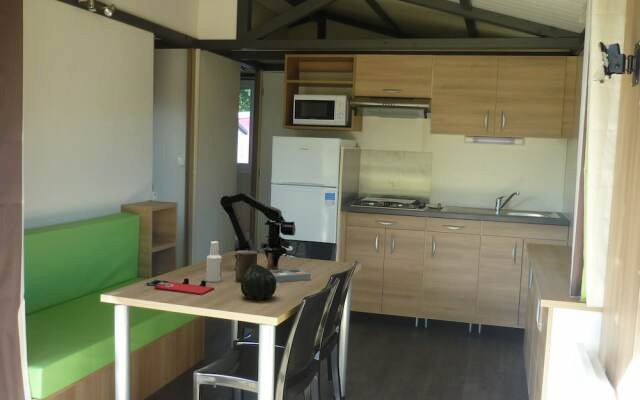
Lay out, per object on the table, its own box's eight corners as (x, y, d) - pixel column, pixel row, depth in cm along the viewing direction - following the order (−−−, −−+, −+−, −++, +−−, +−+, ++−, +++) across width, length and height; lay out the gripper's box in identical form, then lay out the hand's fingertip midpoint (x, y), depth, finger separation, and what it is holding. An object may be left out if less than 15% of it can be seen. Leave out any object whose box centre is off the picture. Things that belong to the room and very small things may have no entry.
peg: (270, 274, 292) (271, 254, 291) (267, 272, 296) (267, 252, 295) (277, 273, 294) (278, 253, 293) (274, 272, 298) (275, 252, 297)
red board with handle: (157, 280, 267) (138, 288, 253) (158, 274, 267) (139, 281, 253) (218, 289, 259) (202, 297, 245) (218, 282, 259) (202, 290, 245)
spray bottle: (223, 280, 274) (225, 241, 273) (215, 282, 268) (216, 243, 267) (211, 278, 277) (212, 240, 276) (203, 280, 271) (204, 241, 269)
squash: (288, 287, 243) (272, 256, 249) (261, 293, 232) (244, 261, 238) (270, 304, 251) (254, 274, 257) (243, 311, 240) (228, 280, 246)
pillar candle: (252, 284, 269) (254, 251, 268) (232, 281, 271) (233, 249, 270) (258, 279, 279) (260, 248, 278) (239, 277, 281) (240, 246, 280)
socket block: (276, 282, 274) (276, 275, 274) (264, 276, 286) (265, 269, 285) (310, 280, 283) (310, 273, 283) (297, 274, 295) (298, 267, 294)
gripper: (297, 236, 289) (295, 268, 290) (280, 231, 305) (279, 260, 307) (276, 237, 284) (274, 269, 285) (260, 231, 300) (259, 261, 301)
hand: (272, 265), depth 294 cm, fingers open, 6 cm apart
